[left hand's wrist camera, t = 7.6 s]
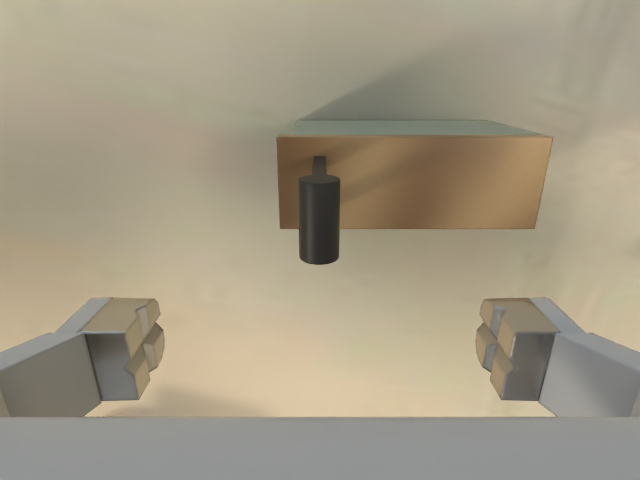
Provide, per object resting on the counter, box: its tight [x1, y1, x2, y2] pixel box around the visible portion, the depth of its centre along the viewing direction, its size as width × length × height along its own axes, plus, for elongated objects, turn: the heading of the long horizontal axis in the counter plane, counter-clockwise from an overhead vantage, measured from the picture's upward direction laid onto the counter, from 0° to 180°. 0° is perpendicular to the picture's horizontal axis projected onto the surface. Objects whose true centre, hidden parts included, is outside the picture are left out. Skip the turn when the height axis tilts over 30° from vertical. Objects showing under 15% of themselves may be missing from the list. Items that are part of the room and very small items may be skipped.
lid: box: [276, 135, 553, 265], centre depth 21 cm, size 15×5×8 cm, turn 90°
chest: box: [290, 120, 543, 135], centre depth 29 cm, size 15×5×9 cm, turn 90°
